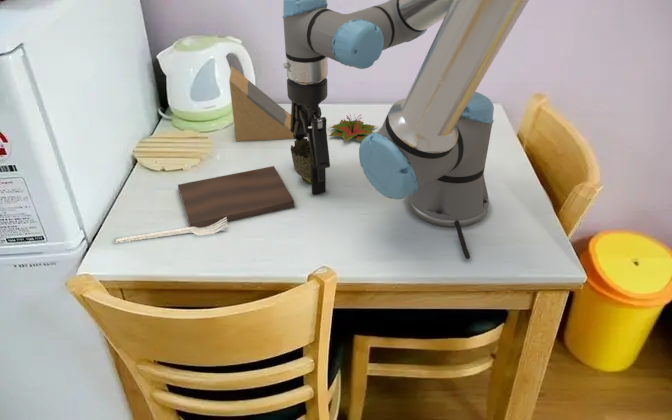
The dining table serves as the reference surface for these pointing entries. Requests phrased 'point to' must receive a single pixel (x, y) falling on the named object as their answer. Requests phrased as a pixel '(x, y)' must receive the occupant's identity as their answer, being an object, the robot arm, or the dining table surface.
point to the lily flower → (352, 129)
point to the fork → (178, 232)
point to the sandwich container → (256, 112)
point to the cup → (302, 159)
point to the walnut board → (234, 196)
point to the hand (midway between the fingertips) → (310, 179)
